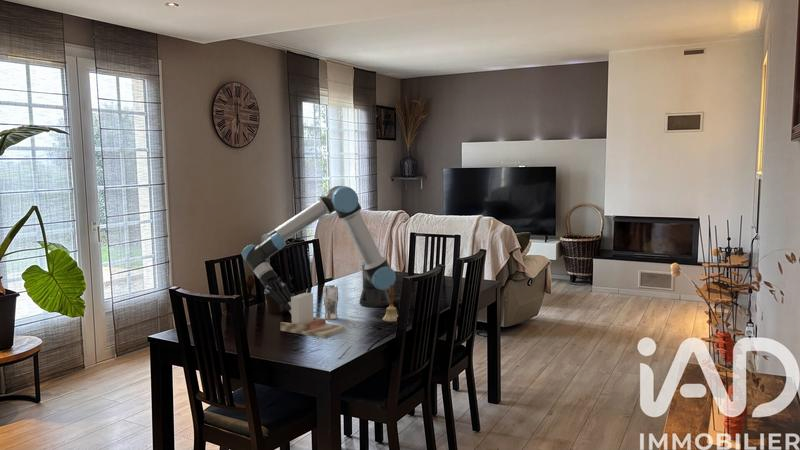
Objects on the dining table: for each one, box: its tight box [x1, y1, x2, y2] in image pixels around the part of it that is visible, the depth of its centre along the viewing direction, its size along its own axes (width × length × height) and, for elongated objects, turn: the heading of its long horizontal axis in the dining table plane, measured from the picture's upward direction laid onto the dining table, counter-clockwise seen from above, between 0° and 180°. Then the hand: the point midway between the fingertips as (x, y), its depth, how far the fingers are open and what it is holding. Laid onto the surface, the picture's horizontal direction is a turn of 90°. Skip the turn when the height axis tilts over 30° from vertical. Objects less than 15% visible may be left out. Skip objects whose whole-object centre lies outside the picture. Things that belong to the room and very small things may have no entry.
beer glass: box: [322, 284, 339, 321], centre depth 276 cm, size 7×7×15 cm
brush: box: [381, 284, 399, 323], centre depth 273 cm, size 8×8×16 cm
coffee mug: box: [264, 292, 282, 315], centre depth 291 cm, size 12×9×10 cm
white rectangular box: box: [290, 292, 315, 325], centre depth 260 cm, size 5×10×13 cm, turn 150°
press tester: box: [279, 316, 346, 339], centre depth 258 cm, size 24×14×4 cm, turn 60°
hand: (296, 315), depth 261 cm, fingers closed
